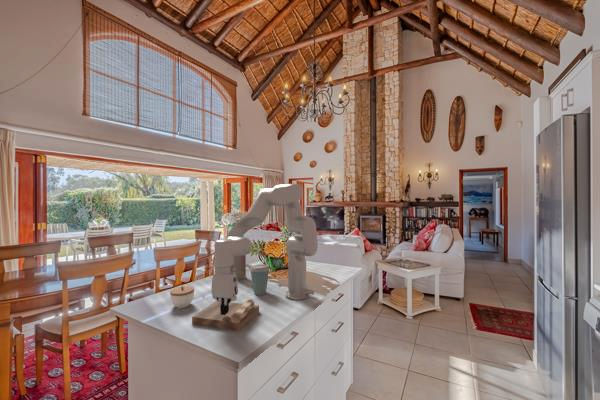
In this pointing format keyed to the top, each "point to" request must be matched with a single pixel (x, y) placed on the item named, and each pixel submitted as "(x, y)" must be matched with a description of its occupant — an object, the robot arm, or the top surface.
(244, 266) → the thermos bottle
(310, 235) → the robot arm
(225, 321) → the brown wooden flat board
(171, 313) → the top surface
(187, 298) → the lidded jar
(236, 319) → the oak leg
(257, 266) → the disposable coffee cup
